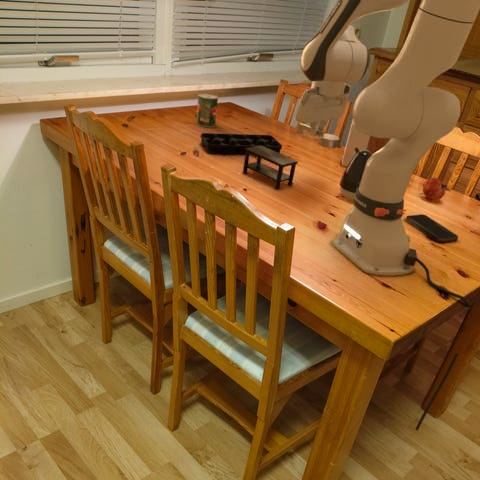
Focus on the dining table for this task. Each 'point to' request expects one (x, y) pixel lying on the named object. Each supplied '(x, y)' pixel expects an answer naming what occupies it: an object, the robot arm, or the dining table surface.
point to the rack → (267, 170)
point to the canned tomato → (207, 110)
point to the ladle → (321, 137)
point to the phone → (431, 228)
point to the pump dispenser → (354, 174)
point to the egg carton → (237, 142)
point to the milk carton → (354, 144)
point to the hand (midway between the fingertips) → (316, 134)
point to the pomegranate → (433, 189)
